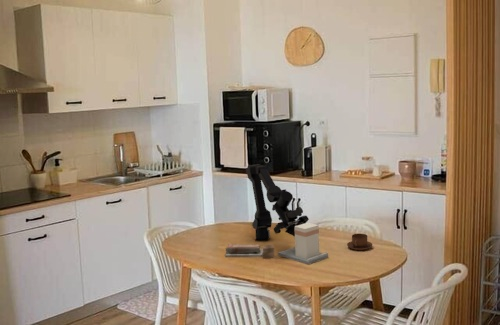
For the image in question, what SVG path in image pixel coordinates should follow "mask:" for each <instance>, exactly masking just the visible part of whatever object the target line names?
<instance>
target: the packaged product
mask: <svg viewBox="0 0 500 325" xmlns="http://www.w3.org/2000/svg"><path fill="white" fill-rule="evenodd" d="M224 257H225V258H263V248H262V249H261V245H260V244H238V243H237V244H236V243H235V244H234V243H233V244H228V245H227V246H226V247H225V254H224Z"/></svg>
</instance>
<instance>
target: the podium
mask: <svg viewBox="0 0 500 325" xmlns="http://www.w3.org/2000/svg"><path fill="white" fill-rule="evenodd" d="M277 256H279V257H284V258H286V259H289V260H292V261H296V262H300V263H303V264H306V265H310V264H311V265H312V264H313V263H316V262H319V261H322V260H324V259H328V258H329V252H328V251H327V252H324V253H323V252H320V251H319V255H316V256H314V257H311V258H308V259H305V258H302V257H298V256H296V250H295V246H294V247H292V248H289V249H285V250H283V251H279V252H277Z"/></svg>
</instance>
